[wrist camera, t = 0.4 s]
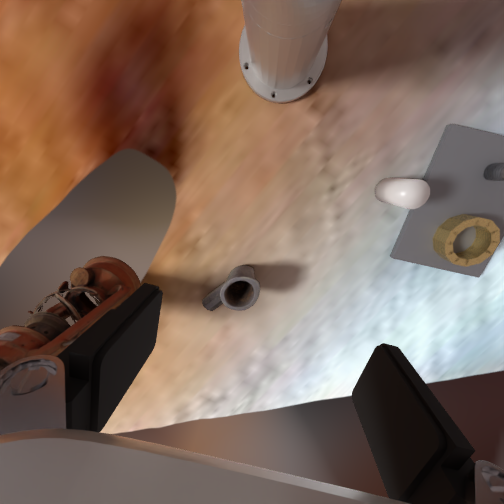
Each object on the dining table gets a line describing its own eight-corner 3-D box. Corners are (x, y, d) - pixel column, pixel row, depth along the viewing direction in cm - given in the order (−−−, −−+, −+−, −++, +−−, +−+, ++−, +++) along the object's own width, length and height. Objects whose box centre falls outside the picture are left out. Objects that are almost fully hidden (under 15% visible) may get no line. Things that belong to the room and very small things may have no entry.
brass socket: (446, 209, 40) (460, 212, 37) (492, 220, 40) (510, 224, 37) (424, 254, 42) (436, 260, 39) (468, 263, 42) (483, 270, 39)
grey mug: (201, 288, 49) (188, 310, 41) (248, 252, 45) (245, 268, 38) (220, 309, 50) (212, 334, 42) (268, 275, 47) (269, 295, 39)
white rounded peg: (380, 175, 40) (406, 176, 32) (403, 180, 40) (435, 183, 32) (371, 199, 41) (394, 205, 33) (393, 204, 41) (422, 212, 33)
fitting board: (446, 125, 37) (452, 123, 36) (546, 148, 37) (555, 147, 36) (389, 256, 44) (393, 258, 43) (473, 274, 44) (478, 277, 43)
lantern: (133, 246, 46) (-75, 365, 18) (160, 303, 50) (22, 474, 22) (60, 267, 49) (-223, 400, 21) (91, 319, 53) (-113, 492, 24)
